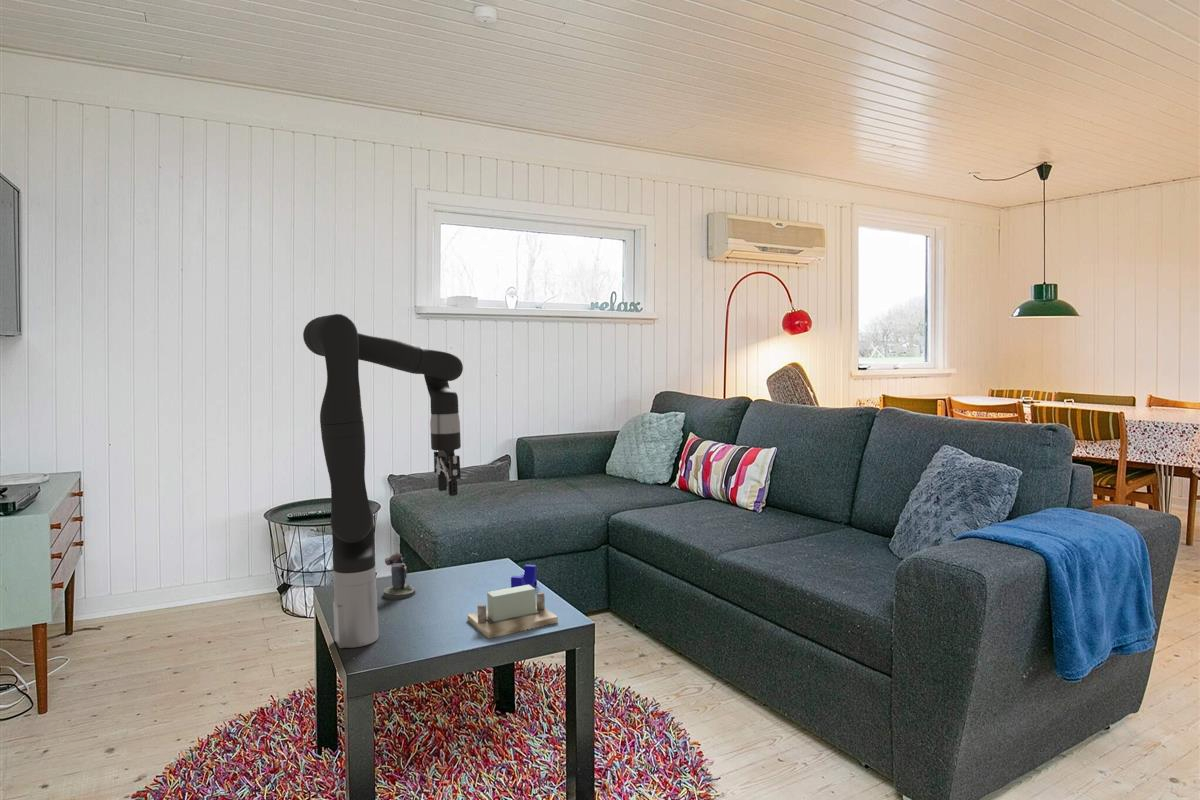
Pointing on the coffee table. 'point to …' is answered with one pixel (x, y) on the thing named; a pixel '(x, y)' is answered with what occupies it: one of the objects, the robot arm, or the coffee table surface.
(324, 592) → the coffee table surface
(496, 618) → the door block
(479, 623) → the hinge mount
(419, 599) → the coffee table surface
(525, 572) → the blue piece
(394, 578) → the figurine
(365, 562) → the robot arm
